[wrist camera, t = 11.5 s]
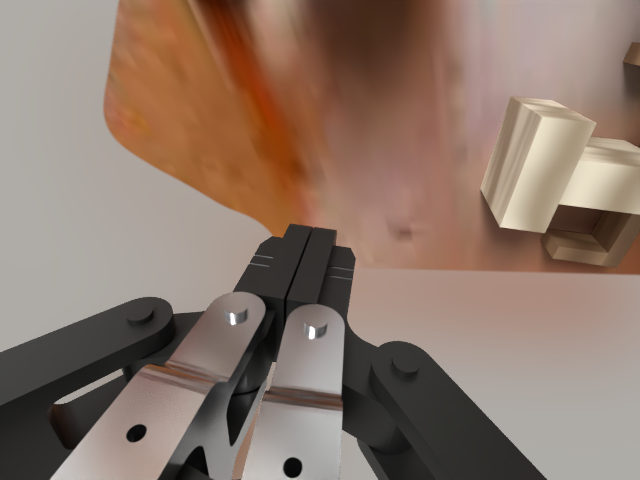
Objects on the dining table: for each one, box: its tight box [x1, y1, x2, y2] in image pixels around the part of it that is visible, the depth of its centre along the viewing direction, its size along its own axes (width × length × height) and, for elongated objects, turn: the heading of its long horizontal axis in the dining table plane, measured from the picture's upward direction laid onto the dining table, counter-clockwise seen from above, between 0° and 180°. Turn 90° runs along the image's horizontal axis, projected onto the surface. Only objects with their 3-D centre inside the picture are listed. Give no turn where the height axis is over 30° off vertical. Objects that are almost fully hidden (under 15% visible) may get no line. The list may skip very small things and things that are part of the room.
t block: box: [480, 96, 640, 233], centre depth 34 cm, size 12×10×9 cm
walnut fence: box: [540, 42, 640, 268], centre depth 36 cm, size 7×21×4 cm, turn 176°
